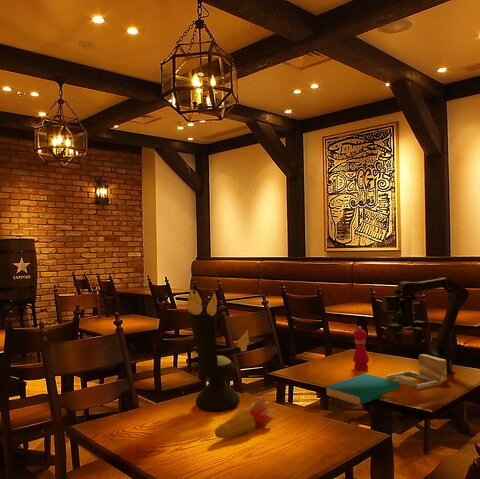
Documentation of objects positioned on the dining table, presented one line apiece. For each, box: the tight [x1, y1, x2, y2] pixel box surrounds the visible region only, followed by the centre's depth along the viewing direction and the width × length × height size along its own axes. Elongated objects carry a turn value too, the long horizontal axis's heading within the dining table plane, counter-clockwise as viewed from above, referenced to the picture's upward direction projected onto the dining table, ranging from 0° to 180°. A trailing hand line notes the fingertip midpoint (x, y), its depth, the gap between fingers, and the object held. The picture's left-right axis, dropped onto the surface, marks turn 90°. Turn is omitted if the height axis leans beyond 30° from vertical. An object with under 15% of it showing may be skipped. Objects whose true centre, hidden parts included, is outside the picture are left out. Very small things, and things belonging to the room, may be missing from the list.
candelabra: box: [186, 289, 250, 413], centre depth 182 cm, size 19×22×45 cm
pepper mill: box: [352, 325, 370, 371], centre depth 227 cm, size 7×7×20 cm
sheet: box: [418, 353, 448, 383], centre depth 204 cm, size 3×12×10 cm, turn 25°
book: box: [325, 373, 401, 406], centre depth 192 cm, size 17×4×25 cm
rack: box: [385, 370, 443, 391], centre depth 199 cm, size 13×17×3 cm
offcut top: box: [394, 376, 418, 387], centre depth 198 cm, size 3×8×2 cm, turn 29°
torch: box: [214, 394, 275, 439], centre depth 158 cm, size 8×8×25 cm
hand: (407, 346), depth 213 cm, fingers open, 9 cm apart
